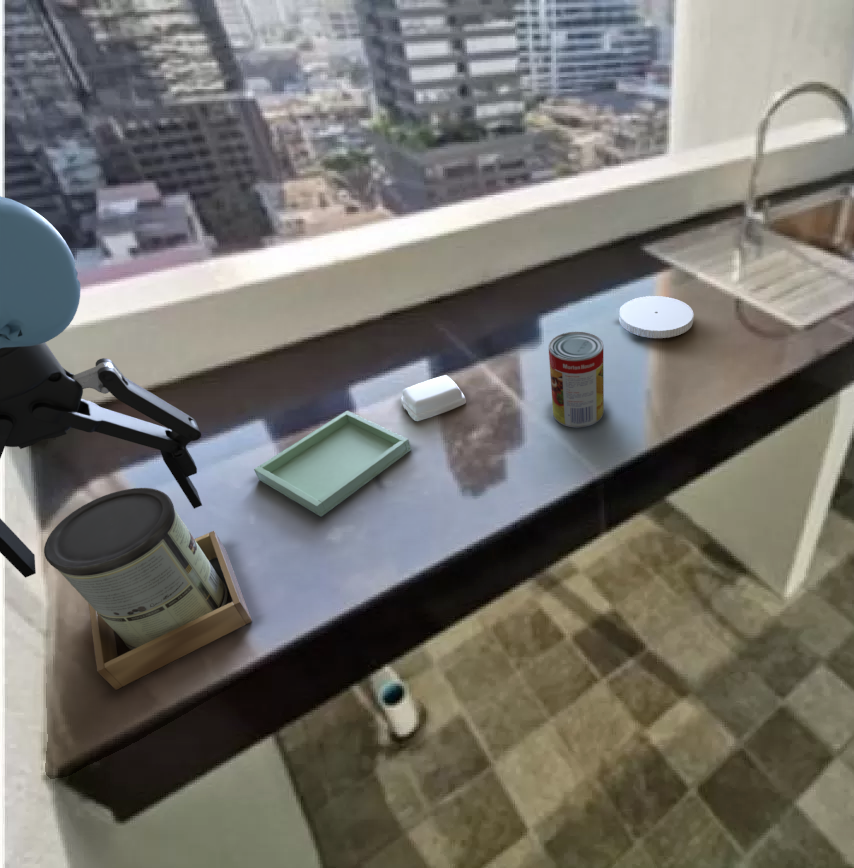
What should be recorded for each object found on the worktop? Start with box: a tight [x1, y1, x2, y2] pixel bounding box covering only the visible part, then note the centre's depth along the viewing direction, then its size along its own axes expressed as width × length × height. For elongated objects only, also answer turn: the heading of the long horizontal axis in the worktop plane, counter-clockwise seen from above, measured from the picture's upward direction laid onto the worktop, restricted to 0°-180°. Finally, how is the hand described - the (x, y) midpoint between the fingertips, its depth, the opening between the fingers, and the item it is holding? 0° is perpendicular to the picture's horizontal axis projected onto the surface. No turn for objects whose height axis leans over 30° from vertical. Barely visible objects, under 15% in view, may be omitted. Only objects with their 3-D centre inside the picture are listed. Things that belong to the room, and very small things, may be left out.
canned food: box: [548, 331, 605, 429], centre depth 90 cm, size 8×8×12 cm
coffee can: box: [43, 487, 229, 651], centre depth 62 cm, size 10×10×14 cm
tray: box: [253, 410, 412, 518], centre depth 84 cm, size 16×13×2 cm
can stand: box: [87, 530, 253, 691], centre depth 65 cm, size 13×13×4 cm
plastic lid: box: [618, 295, 695, 339], centre depth 115 cm, size 14×14×2 cm
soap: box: [400, 374, 467, 422], centre depth 95 cm, size 9×7×3 cm
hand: (117, 531), depth 58 cm, fingers open, 13 cm apart
